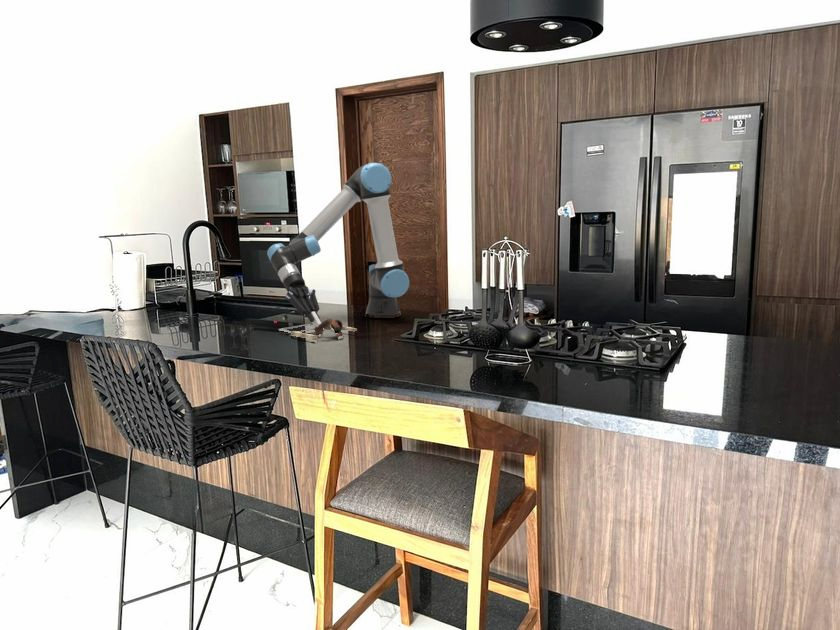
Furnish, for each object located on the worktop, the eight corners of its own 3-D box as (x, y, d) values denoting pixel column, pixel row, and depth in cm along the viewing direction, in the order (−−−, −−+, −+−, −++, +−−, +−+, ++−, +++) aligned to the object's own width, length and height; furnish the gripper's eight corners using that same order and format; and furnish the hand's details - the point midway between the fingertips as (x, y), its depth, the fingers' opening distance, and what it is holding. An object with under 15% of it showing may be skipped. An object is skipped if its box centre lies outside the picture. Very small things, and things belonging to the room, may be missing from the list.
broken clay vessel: (337, 343, 217) (324, 323, 215) (319, 352, 222) (306, 333, 220) (353, 329, 227) (341, 310, 225) (336, 338, 232) (324, 319, 230)
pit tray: (278, 332, 234) (278, 328, 234) (308, 327, 244) (308, 324, 244) (293, 336, 228) (293, 332, 227) (324, 331, 238) (324, 327, 237)
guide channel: (291, 337, 224) (290, 331, 224) (333, 330, 238) (332, 324, 238) (314, 343, 215) (314, 336, 214) (357, 335, 229) (356, 328, 228)
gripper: (302, 283, 242) (329, 331, 233) (273, 286, 233) (300, 336, 224) (309, 271, 237) (337, 319, 229) (280, 273, 228) (308, 323, 219)
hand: (319, 327), depth 226 cm, fingers closed
